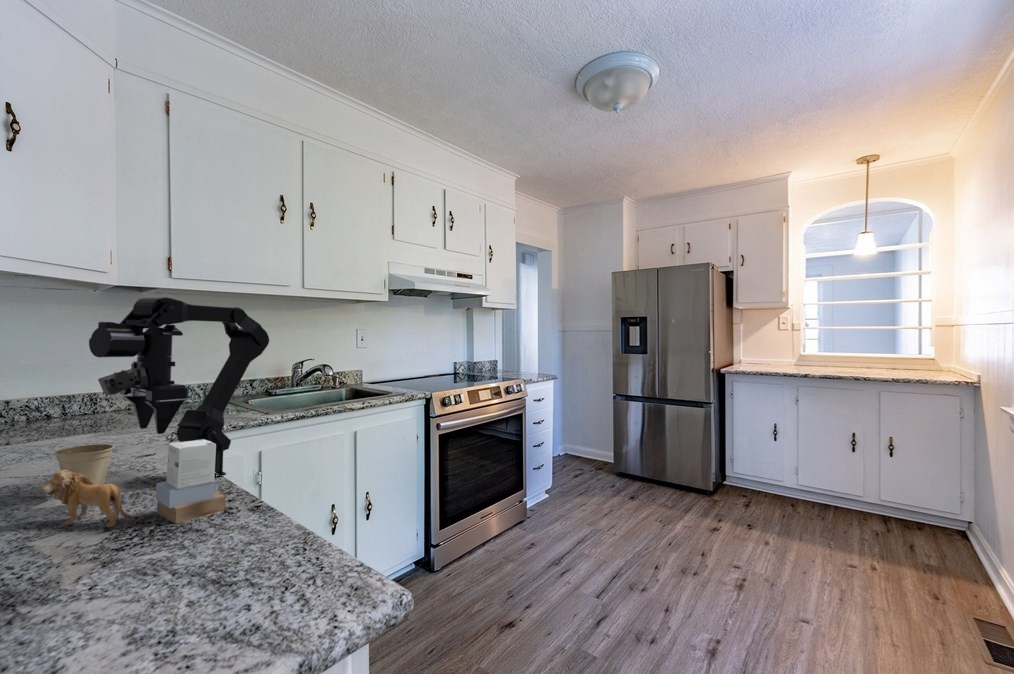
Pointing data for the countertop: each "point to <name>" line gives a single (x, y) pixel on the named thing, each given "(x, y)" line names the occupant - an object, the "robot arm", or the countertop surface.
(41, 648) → the countertop surface
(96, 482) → the flower pot
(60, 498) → the lion figurine
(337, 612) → the countertop surface
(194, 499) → the top slab
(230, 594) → the countertop surface
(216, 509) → the bottom slab
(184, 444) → the skincare box
